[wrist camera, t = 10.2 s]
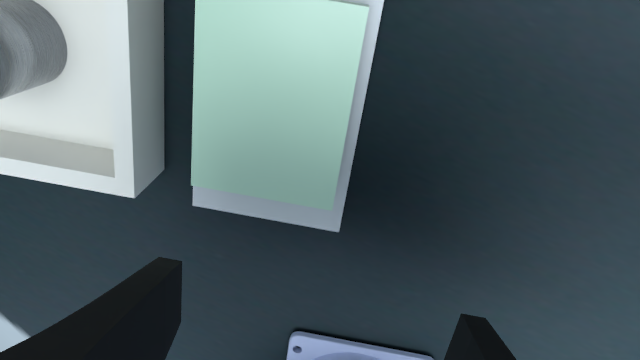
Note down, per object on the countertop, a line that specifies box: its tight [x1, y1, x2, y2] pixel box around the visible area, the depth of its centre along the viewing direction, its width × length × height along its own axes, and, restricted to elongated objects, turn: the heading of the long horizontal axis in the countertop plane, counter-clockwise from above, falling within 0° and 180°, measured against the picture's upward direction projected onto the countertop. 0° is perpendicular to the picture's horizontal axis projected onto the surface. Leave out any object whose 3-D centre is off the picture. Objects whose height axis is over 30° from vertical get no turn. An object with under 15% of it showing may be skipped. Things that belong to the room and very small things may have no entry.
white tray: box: [0, 0, 164, 198], centre depth 18 cm, size 10×12×3 cm
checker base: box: [193, 0, 384, 232], centre depth 19 cm, size 12×7×1 cm, turn 172°
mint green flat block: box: [191, 0, 370, 211], centre depth 18 cm, size 8×6×1 cm
